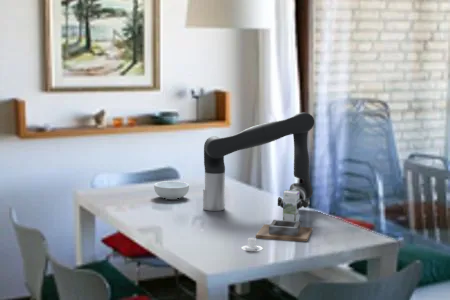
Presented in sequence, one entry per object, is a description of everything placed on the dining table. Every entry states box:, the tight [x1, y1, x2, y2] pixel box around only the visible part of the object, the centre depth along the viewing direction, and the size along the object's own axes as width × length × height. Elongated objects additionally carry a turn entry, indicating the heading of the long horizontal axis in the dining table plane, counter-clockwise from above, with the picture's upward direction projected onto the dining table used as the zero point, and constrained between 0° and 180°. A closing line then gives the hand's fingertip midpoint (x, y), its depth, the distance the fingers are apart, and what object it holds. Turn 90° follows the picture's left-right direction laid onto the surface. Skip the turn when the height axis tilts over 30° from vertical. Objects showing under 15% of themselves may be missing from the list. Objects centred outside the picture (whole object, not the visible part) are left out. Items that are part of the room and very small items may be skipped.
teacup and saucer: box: [241, 237, 264, 252], centre depth 269 cm, size 9×8×4 cm
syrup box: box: [282, 189, 300, 222], centre depth 305 cm, size 6×6×14 cm
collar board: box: [255, 219, 313, 242], centre depth 290 cm, size 20×18×4 cm
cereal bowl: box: [153, 180, 190, 200], centre depth 354 cm, size 17×17×7 cm
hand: (290, 206), depth 302 cm, fingers closed on syrup box, 6 cm apart
